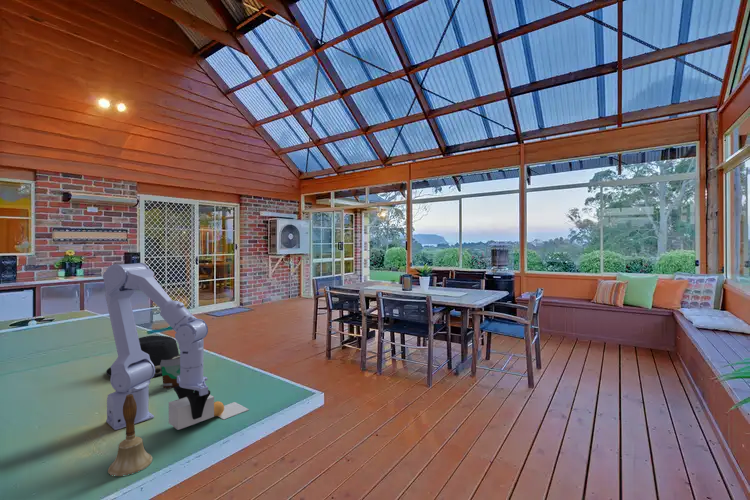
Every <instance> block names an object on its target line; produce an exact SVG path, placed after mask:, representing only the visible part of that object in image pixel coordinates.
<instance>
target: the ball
mask: <svg viewBox="0 0 750 500" xmlns="http://www.w3.org/2000/svg"><path fill="white" fill-rule="evenodd" d="M224 406H225V405H224V404H223V402H222V401H219V400H217V401H214V417H218V416H219V415H221V414H222V413H223V411H224Z"/></svg>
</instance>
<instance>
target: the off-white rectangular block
mask: <svg viewBox="0 0 750 500" xmlns="http://www.w3.org/2000/svg"><path fill="white" fill-rule="evenodd" d="M214 402H215V396H213V395H211V394H210V395H209V397H208V398H207V400H206V403H205V406H204V409H203V413H202V417H200V418H197V419H195V420H194V419H193V418H192V413H191V406H190V402H189V400H188V398H187V397H184V398H181V399H179V398H177V399H175V400H171V401H168V424H169V425H170V426H172V427H173V428H174V429H176V430H182V429H185V428H187V427H190V426H194V425H196V424H199V423H200V422H203V421H206V420H209V419H211V418H214V417H215V416H214Z"/></svg>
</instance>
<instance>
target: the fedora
mask: <svg viewBox="0 0 750 500" xmlns="http://www.w3.org/2000/svg"><path fill="white" fill-rule="evenodd" d="M138 338H139V343H140V347H141V351H143V352H145V353H147V354H149V356H150V360H151V362H152V363H153V364H154V367H155V374H154V376H153V378H154V377H159V376H161V375H162V366H160V363H161V360H169V359H171V358H172V357H174V356H179V355H180V351H179V346H178V345H177V343H178V342H177V340H176V338H175V337H172V336H169V335H168V336H167V335H146V336H142V337H138ZM132 364H134V363H132ZM130 365H131V364H130ZM105 373H106V375H107V376H108V377H110V378H111V366H110V367H108V368H107V369H106V371H105Z"/></svg>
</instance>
